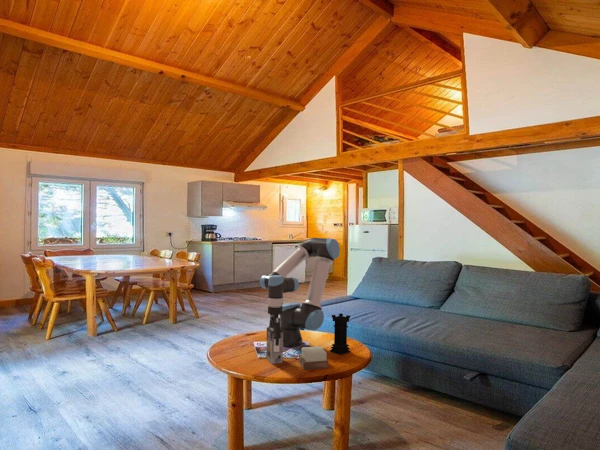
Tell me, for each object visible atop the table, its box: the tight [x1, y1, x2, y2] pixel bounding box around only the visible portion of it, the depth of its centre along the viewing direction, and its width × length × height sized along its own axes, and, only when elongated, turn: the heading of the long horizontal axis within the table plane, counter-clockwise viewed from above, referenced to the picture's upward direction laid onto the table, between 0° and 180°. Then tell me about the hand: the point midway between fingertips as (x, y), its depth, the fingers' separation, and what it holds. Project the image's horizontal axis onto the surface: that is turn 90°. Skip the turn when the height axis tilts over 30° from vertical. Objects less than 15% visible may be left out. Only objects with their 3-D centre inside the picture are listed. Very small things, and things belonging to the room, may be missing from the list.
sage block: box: [301, 346, 327, 362], centre depth 203 cm, size 10×10×4 cm
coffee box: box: [265, 326, 284, 365], centre depth 209 cm, size 9×6×16 cm
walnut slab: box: [298, 354, 329, 371], centre depth 203 cm, size 12×12×4 cm
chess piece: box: [329, 312, 352, 356], centre depth 224 cm, size 8×8×20 cm
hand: (274, 347), depth 208 cm, fingers open, 13 cm apart
